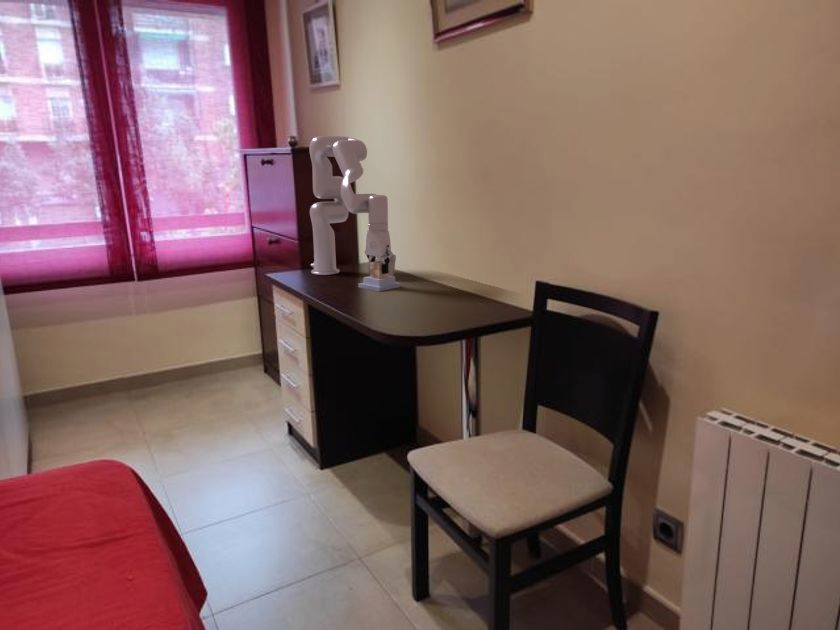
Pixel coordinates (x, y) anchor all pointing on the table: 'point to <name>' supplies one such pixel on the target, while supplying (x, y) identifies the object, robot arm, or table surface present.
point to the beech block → (377, 270)
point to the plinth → (379, 283)
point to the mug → (390, 265)
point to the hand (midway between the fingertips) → (379, 272)
